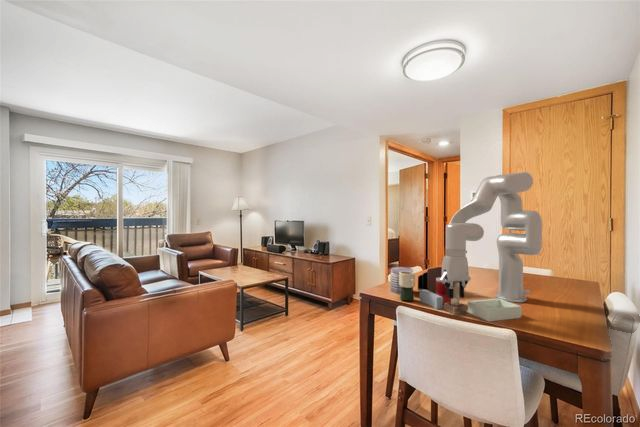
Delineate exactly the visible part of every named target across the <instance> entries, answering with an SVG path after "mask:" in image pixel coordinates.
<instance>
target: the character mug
mask: <svg viewBox="0 0 640 427" xmlns="http://www.w3.org/2000/svg"><path fill="white" fill-rule="evenodd" d="M415 280H416V273H415V272H414V271H413V272H409V271H401V272H399V285H400V286H402V288H401V294H399V298H400V300H401V301H408V302H410V301H413V302H414V300H415V296H414V287H416V283H415ZM412 287H413V289H412Z"/></svg>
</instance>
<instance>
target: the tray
mask: <svg viewBox="0 0 640 427" xmlns="http://www.w3.org/2000/svg"><path fill="white" fill-rule="evenodd" d="M467 313H469V314H471V315H473V316H475V317H478V318H480V319H482V320H484V321H486V322H494V321H495V322H496V321H505V320H513V319H521V318H522V305H520V304H516V303H514V302H510V301H505V300H502V299H499V298H491V299H490V298H489V299H488V298H487V299H479V300H470V301H469V300H468V302H467Z"/></svg>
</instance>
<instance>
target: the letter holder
mask: <svg viewBox="0 0 640 427" xmlns="http://www.w3.org/2000/svg"><path fill="white" fill-rule="evenodd" d="M441 273H442V266H437V267H430V268H428V269H427V271H425V272H423V273H422V274H419V275H418V276H417V290H418V291H419V292H420V290H428V291H430V292H432V293H434V294H436V278H438V277H441Z"/></svg>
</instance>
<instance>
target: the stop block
mask: <svg viewBox="0 0 640 427" xmlns="http://www.w3.org/2000/svg"><path fill="white" fill-rule="evenodd" d="M419 301H420V302H421V303H423V304H426V305H427V306H429V307H432V308H433V309H435V310H444V305H443V297H441V296H439V295H437V294H434V293H432V292H430V291H428V290H420V291H419Z"/></svg>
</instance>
